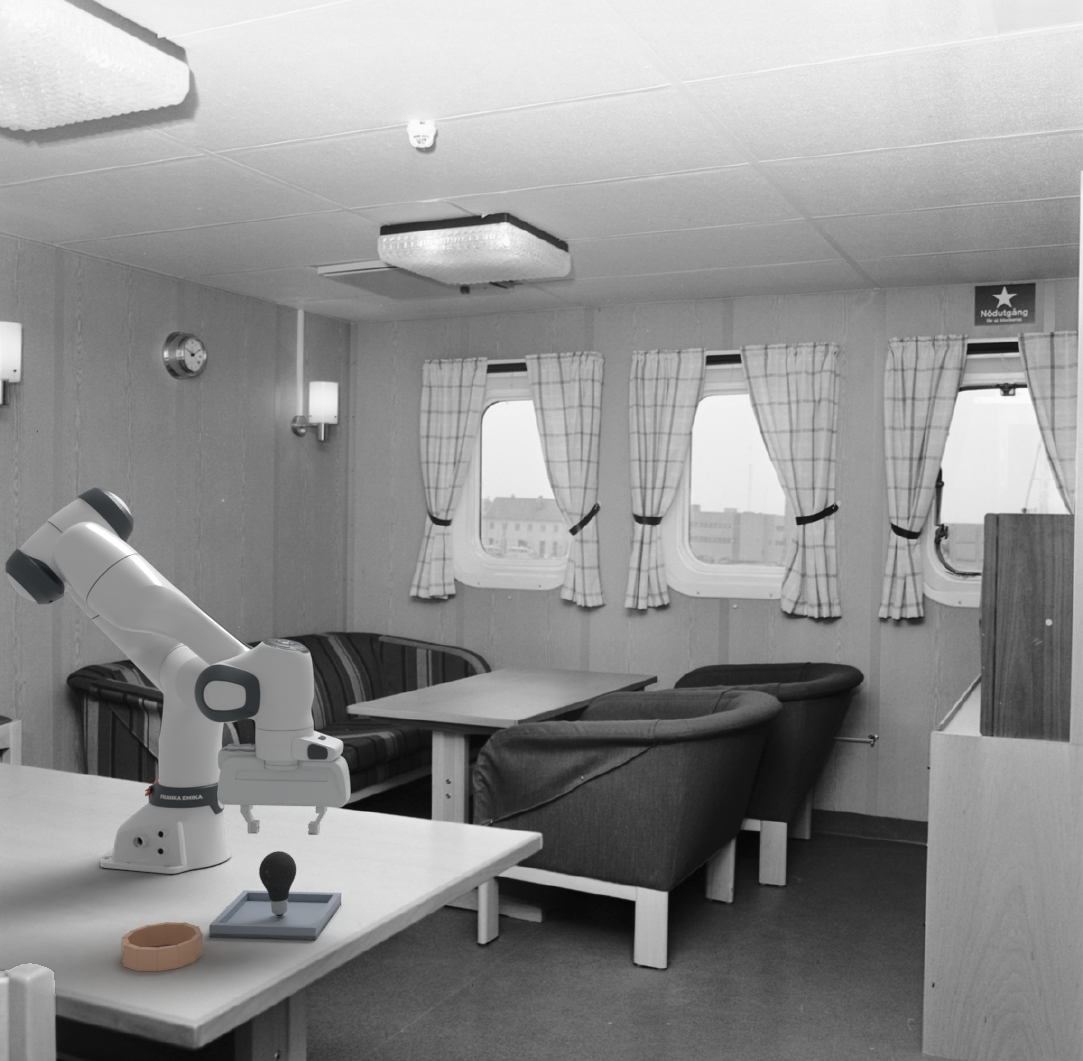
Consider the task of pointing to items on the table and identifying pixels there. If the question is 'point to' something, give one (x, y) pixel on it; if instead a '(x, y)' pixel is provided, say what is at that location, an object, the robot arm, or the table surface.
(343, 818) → the table surface
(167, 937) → the ring
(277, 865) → the light bulb
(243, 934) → the tray
